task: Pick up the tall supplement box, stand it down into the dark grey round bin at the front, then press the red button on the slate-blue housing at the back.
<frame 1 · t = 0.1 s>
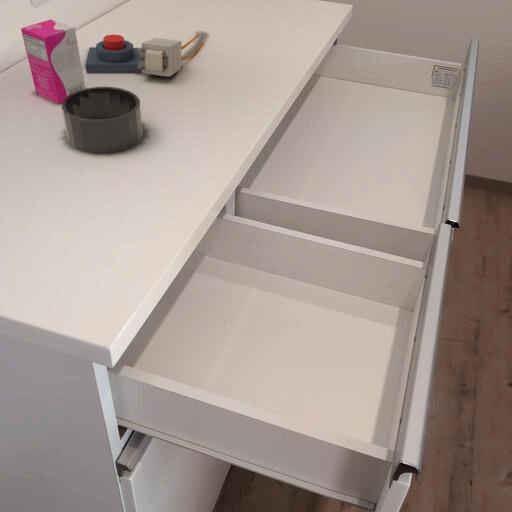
electrical component: (176, 59, 105), on the table
button housing: (116, 64, 101), on the table
dark grey round bin: (106, 141, 80), on the table
power button: (114, 42, 98), point 4 cm above the table, slide at 0.1 cm
supplement box: (62, 99, 89), on the table
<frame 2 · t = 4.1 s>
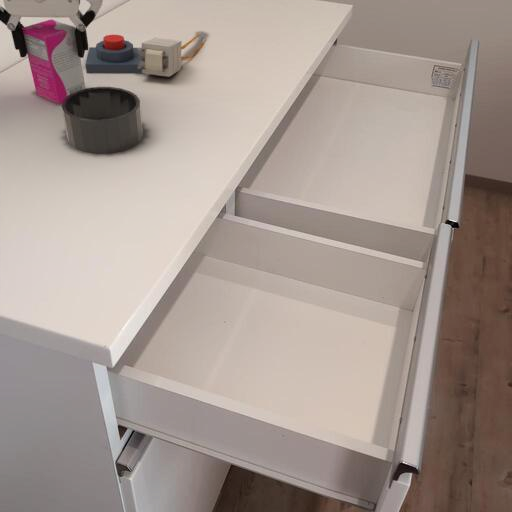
hand: (53, 53, 84), 7 cm above the table, tool pointing down, fingers closed on supplement box, 8 cm apart
supplement box: (62, 99, 89), on the table, touching gripper
everything else where it was.
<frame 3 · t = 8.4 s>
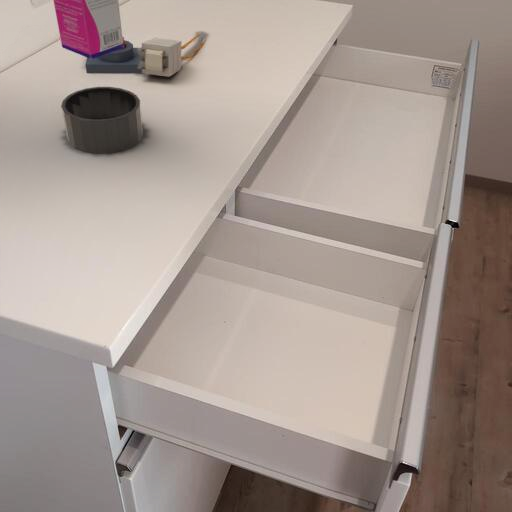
supplement box: (92, 49, 72), point 13 cm above the table, touching gripper
everything else where it was.
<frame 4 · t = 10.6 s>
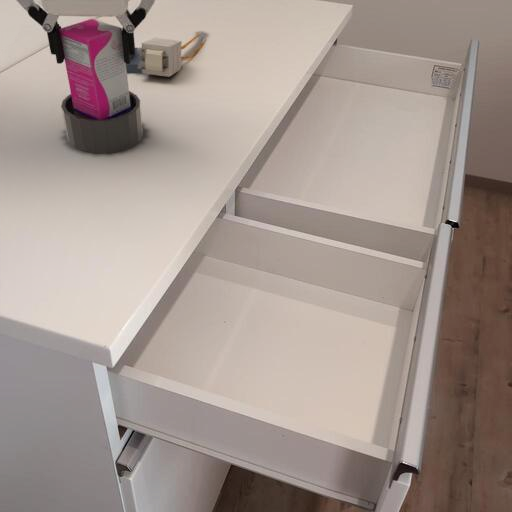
hand: (94, 59, 72), 12 cm above the table, tool pointing down, fingers closed on supplement box, 8 cm apart
supplement box: (102, 112, 77), point 5 cm above the table, touching gripper
everything else where it was.
when the fingers open (8 cm above the table, at t = 12.5 s): supplement box stays where it is, resting on dark grey round bin.
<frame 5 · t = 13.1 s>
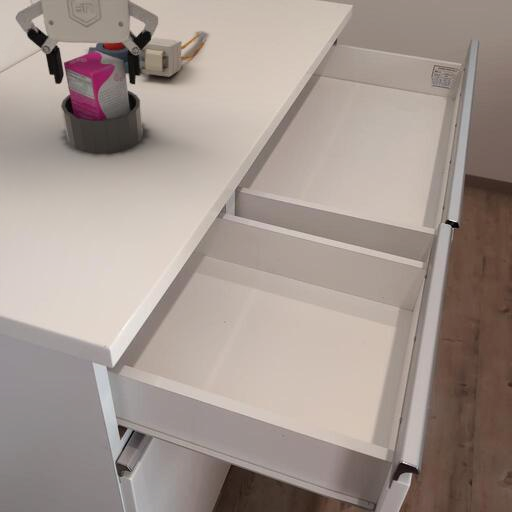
hand: (96, 79, 74), 9 cm above the table, tool pointing down, fingers open, 9 cm apart
supplement box: (105, 139, 80), resting on dark grey round bin
everything else where it was.
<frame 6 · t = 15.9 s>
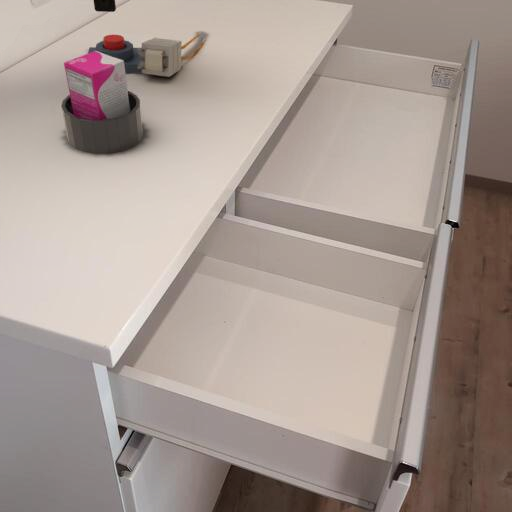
hand: (108, 1, 89), 12 cm above the table, tool pointing down, fingers open, 9 cm apart
nothing on the table moved.
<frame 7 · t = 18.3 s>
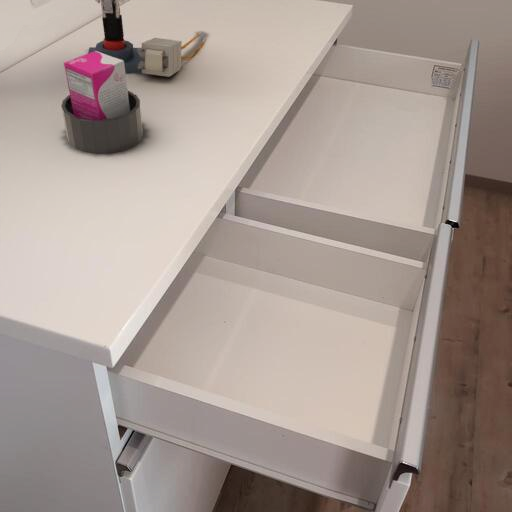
hand: (114, 38, 98), 5 cm above the table, tool pointing down, fingers closed
power button: (114, 44, 98), point 4 cm above the table, slide at -0.1 cm, touching gripper
everything else where it was.
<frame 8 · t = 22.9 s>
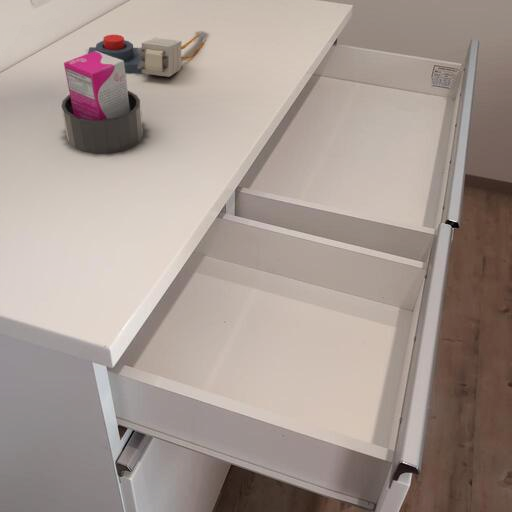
power button: (114, 43, 98), point 4 cm above the table, slide at 0.1 cm
everything else where it was.
at the end: supplement box 0.1 cm off-centre in the dark grey round bin, point 0.3 cm above the dark grey round bin's base; supplement box tilted 0°; power button pushed in 1.1 cm at the most during the clip, back to where it started at the end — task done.
